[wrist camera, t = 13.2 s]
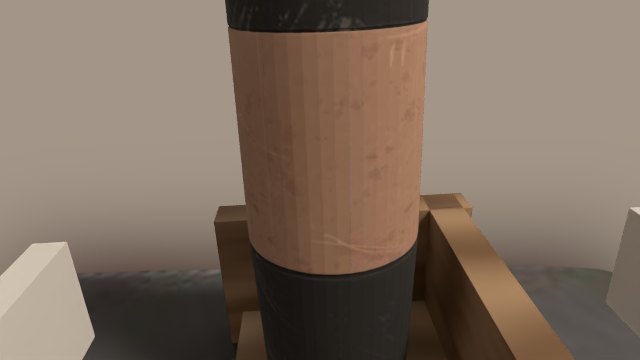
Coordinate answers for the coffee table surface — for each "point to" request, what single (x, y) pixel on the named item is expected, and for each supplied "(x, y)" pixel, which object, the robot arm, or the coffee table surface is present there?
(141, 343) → the coffee table surface
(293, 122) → the travel mug
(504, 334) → the wooden holder
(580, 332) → the coffee table surface
